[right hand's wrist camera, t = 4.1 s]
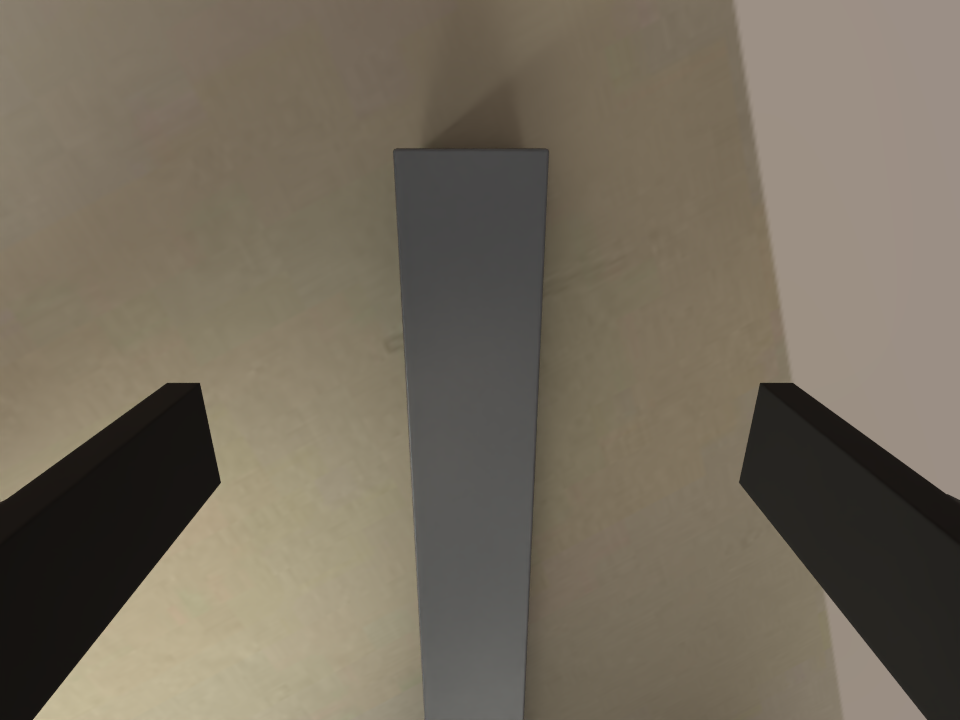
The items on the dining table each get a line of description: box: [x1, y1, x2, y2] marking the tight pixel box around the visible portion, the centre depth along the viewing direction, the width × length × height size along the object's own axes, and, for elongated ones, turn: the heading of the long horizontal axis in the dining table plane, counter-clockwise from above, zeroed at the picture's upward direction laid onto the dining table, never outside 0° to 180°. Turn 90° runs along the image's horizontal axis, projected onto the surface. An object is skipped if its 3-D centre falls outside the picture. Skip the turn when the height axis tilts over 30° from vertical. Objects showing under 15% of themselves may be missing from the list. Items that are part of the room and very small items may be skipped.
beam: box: [393, 148, 549, 720], centre depth 28 cm, size 50×5×8 cm, turn 0°
